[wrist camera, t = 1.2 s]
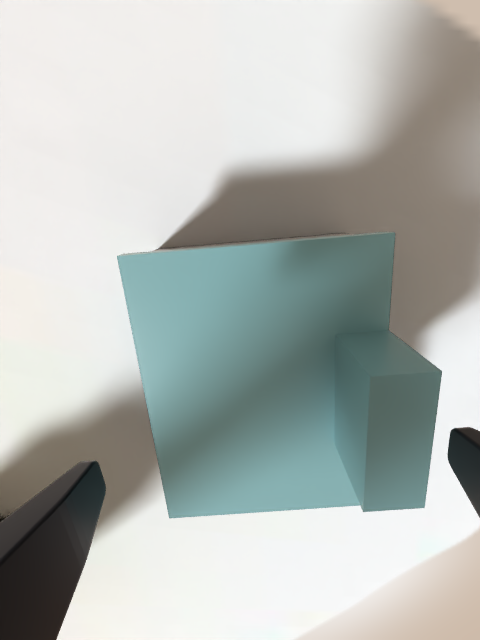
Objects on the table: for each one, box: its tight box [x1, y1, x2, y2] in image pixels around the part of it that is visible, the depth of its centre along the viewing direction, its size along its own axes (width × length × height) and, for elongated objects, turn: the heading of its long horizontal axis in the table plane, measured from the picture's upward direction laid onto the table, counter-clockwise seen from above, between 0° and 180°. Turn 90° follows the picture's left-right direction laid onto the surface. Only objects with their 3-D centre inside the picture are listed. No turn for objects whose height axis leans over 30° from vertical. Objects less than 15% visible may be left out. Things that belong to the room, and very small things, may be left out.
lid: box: [117, 232, 442, 518], centre depth 14 cm, size 15×12×6 cm
